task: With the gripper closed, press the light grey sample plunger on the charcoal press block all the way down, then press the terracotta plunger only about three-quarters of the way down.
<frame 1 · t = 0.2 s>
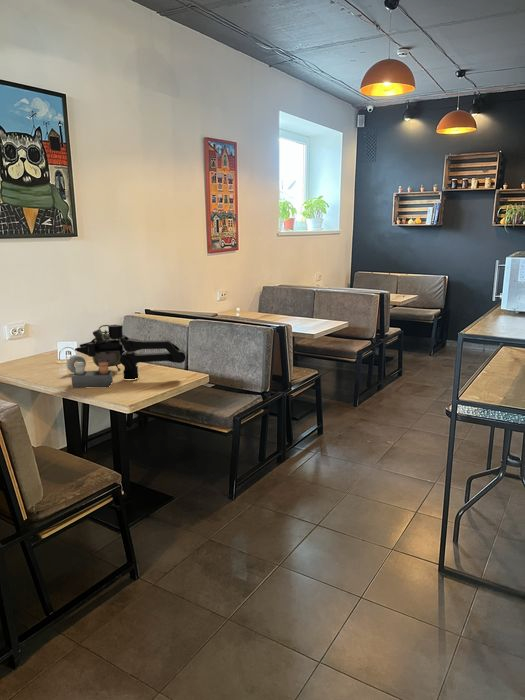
hand: (77, 347, 251), 17 cm above the table, tool horizontal, fingers open, 9 cm apart
tabletop clock: (107, 371, 273), on the table
press block: (93, 385, 247), on the table
terracotta plunger: (103, 368, 245), point 8 cm above the table, slide at 0.0 cm
sample plunger: (80, 368, 244), point 8 cm above the table, slide at 0.0 cm
donut: (77, 373, 268), on the table
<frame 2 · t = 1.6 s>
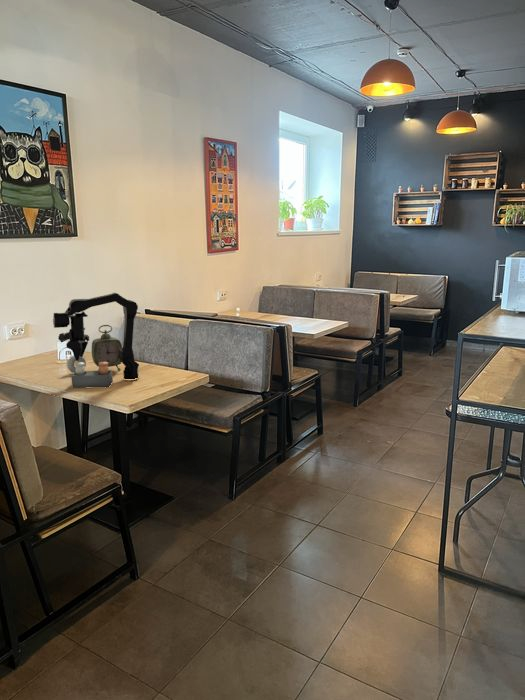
hand: (79, 358, 243), 13 cm above the table, tool pointing down, fingers open, 8 cm apart
nothing on the table moved.
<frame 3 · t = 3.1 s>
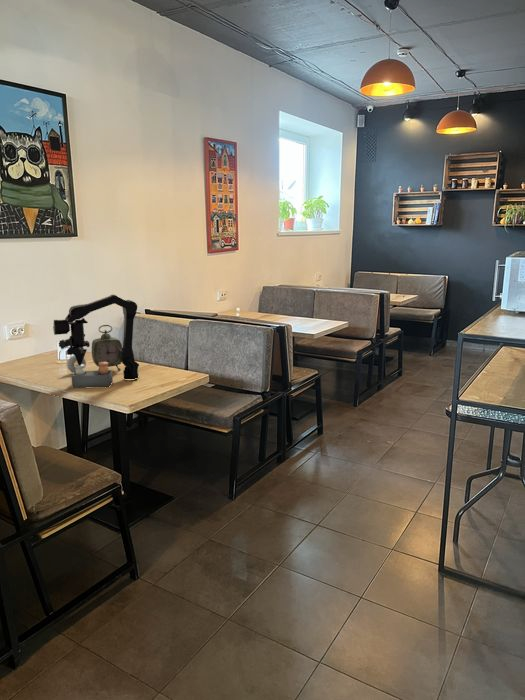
hand: (79, 365, 244), 10 cm above the table, tool pointing down, fingers closed, pressing on sample plunger
sample plunger: (80, 370, 245), point 7 cm above the table, slide at 0.9 cm, touching gripper
everything else where it was.
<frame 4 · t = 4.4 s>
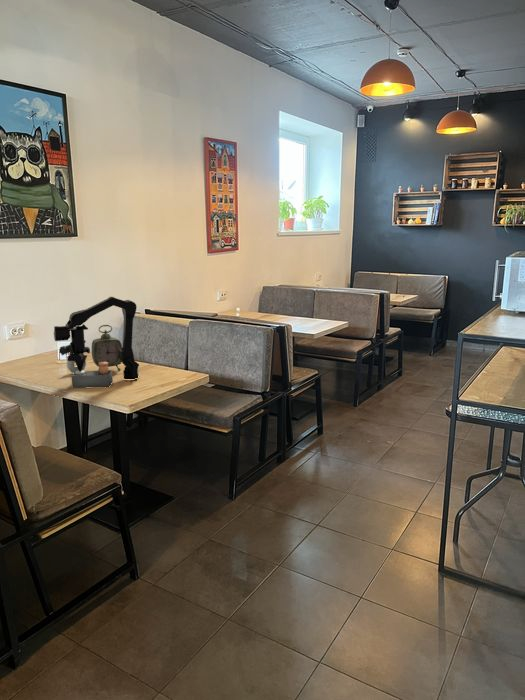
hand: (80, 371, 245), 7 cm above the table, tool pointing down, fingers closed
sample plunger: (80, 377, 245), point 4 cm above the table, slide at 4.1 cm
everything else where it was.
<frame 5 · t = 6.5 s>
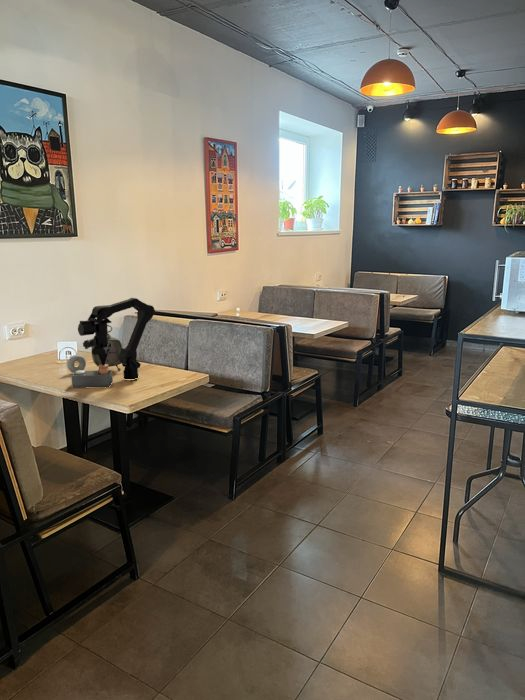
hand: (103, 365, 245), 10 cm above the table, tool pointing down, fingers closed, pressing on terracotta plunger
terracotta plunger: (103, 370, 246), point 7 cm above the table, slide at 1.1 cm, touching gripper
everything else where it was.
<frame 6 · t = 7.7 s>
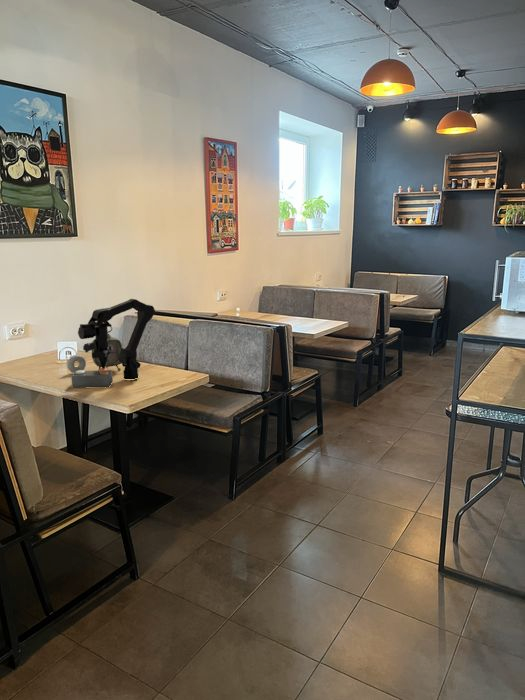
hand: (103, 368, 245), 8 cm above the table, tool pointing down, fingers closed
terracotta plunger: (104, 374, 246), point 5 cm above the table, slide at 3.0 cm
everything else where it was.
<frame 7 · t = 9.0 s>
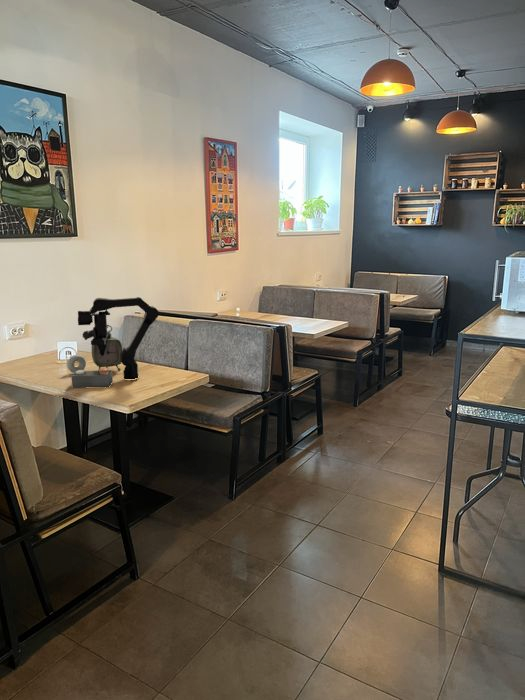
hand: (102, 355, 251), 13 cm above the table, tool pointing down, fingers closed
nothing on the table moved.
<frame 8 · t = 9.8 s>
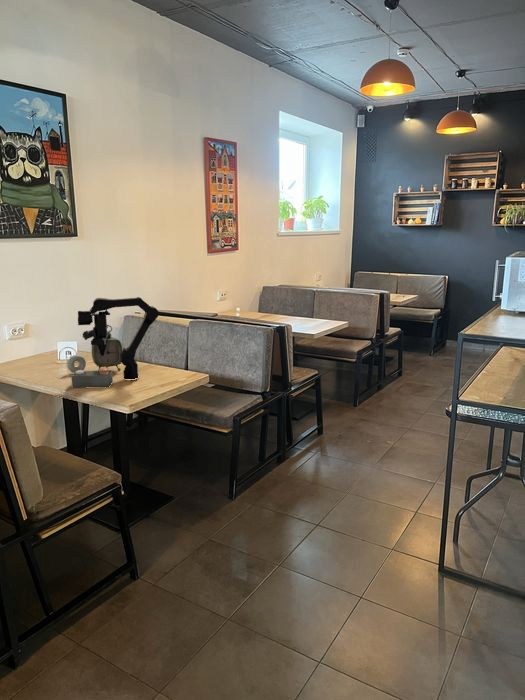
hand: (102, 355, 251), 13 cm above the table, tool pointing down, fingers closed
nothing on the table moved.
at the end: sample plunger slide at 4.1 cm; terracotta plunger slide at 3.0 cm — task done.
